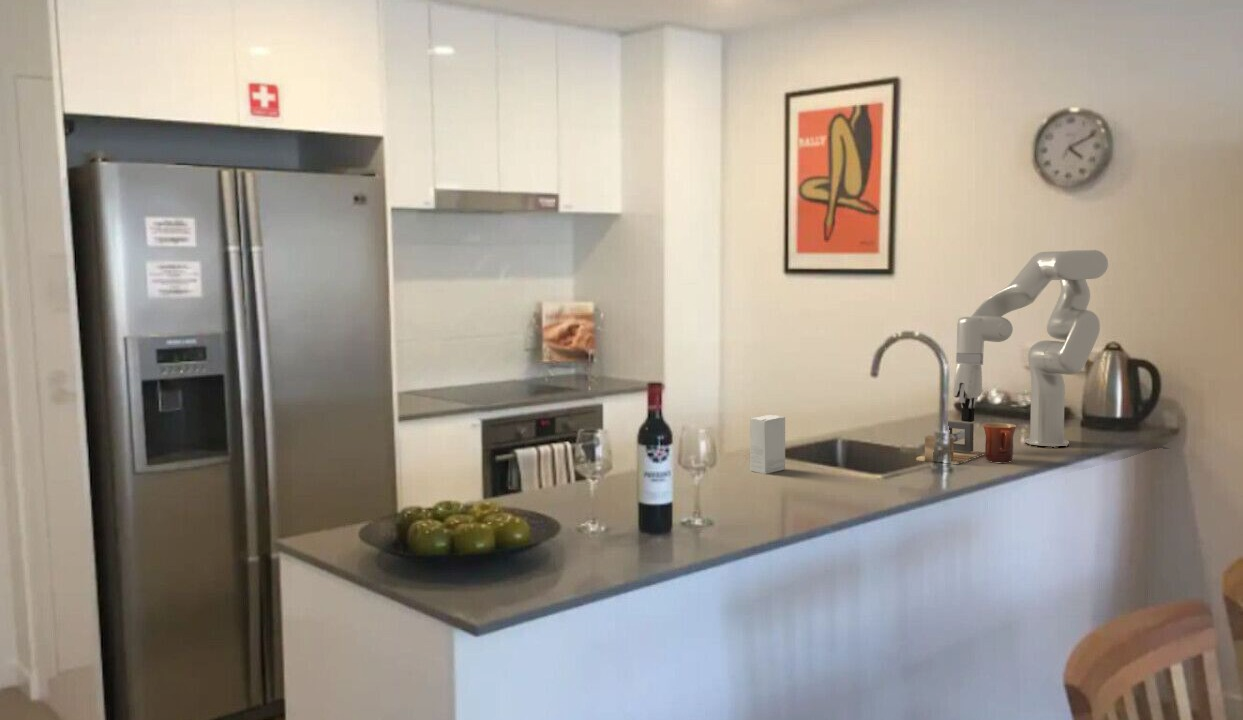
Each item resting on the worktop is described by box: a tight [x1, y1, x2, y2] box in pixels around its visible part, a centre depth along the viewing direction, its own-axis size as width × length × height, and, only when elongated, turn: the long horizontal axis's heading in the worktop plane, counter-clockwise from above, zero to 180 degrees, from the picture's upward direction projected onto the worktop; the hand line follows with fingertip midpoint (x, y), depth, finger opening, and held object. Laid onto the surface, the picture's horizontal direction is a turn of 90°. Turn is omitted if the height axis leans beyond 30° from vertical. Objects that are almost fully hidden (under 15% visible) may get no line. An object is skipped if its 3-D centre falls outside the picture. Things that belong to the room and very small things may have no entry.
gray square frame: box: [947, 420, 975, 452], centre depth 305 cm, size 2×8×8 cm, turn 49°
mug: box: [982, 422, 1017, 463], centre depth 293 cm, size 12×9×10 cm
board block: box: [915, 435, 985, 464], centre depth 302 cm, size 20×12×7 cm, turn 139°
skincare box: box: [749, 414, 786, 475], centre depth 285 cm, size 8×6×15 cm
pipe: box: [950, 429, 965, 443], centre depth 302 cm, size 18×3×3 cm, turn 139°
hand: (967, 421), depth 310 cm, fingers closed
